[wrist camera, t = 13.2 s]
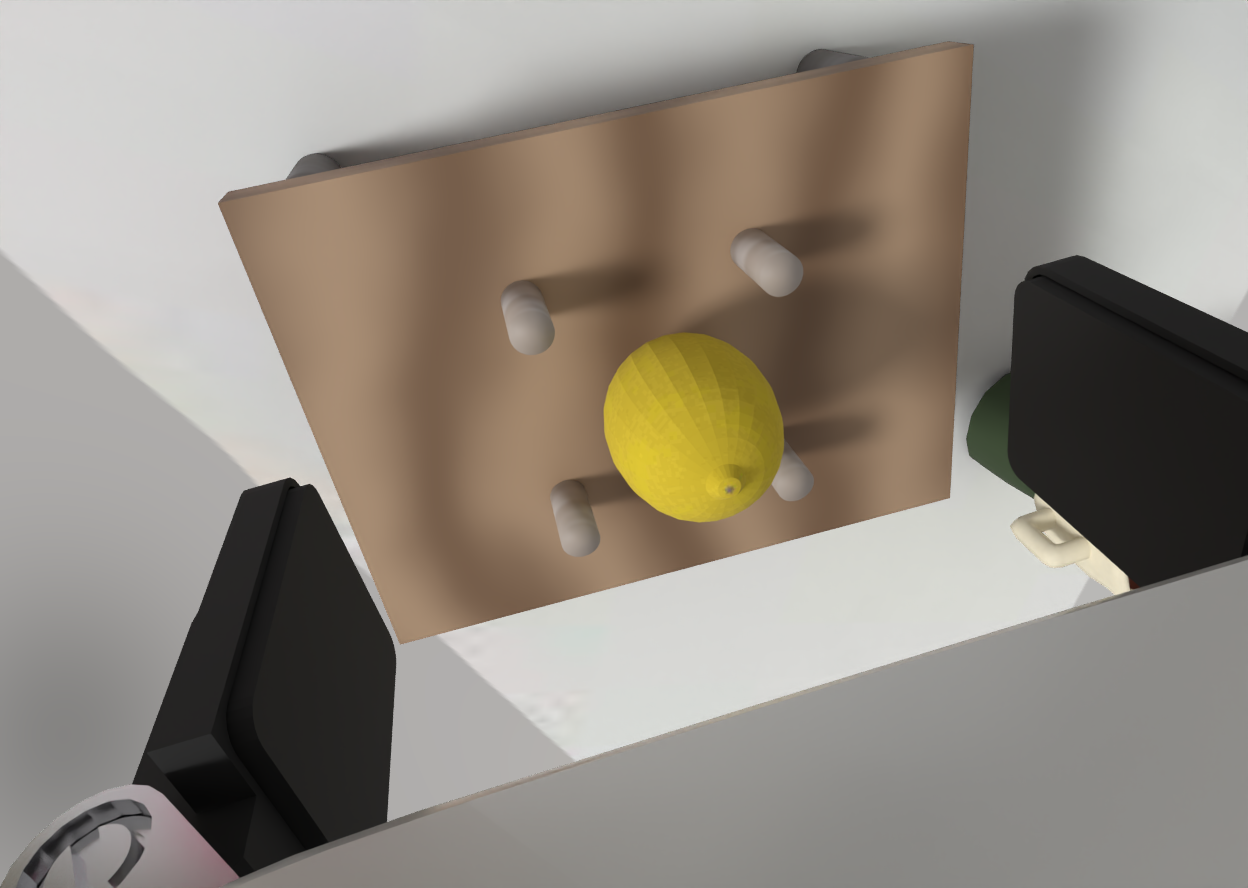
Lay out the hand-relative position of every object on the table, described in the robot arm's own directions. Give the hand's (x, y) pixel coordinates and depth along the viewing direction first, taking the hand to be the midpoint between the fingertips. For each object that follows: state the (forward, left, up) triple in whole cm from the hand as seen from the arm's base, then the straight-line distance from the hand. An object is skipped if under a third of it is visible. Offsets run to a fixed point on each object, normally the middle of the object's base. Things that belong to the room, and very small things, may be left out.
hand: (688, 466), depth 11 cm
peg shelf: (-3, +8, -27) cm, 28 cm away
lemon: (-3, +8, -18) cm, 20 cm away
